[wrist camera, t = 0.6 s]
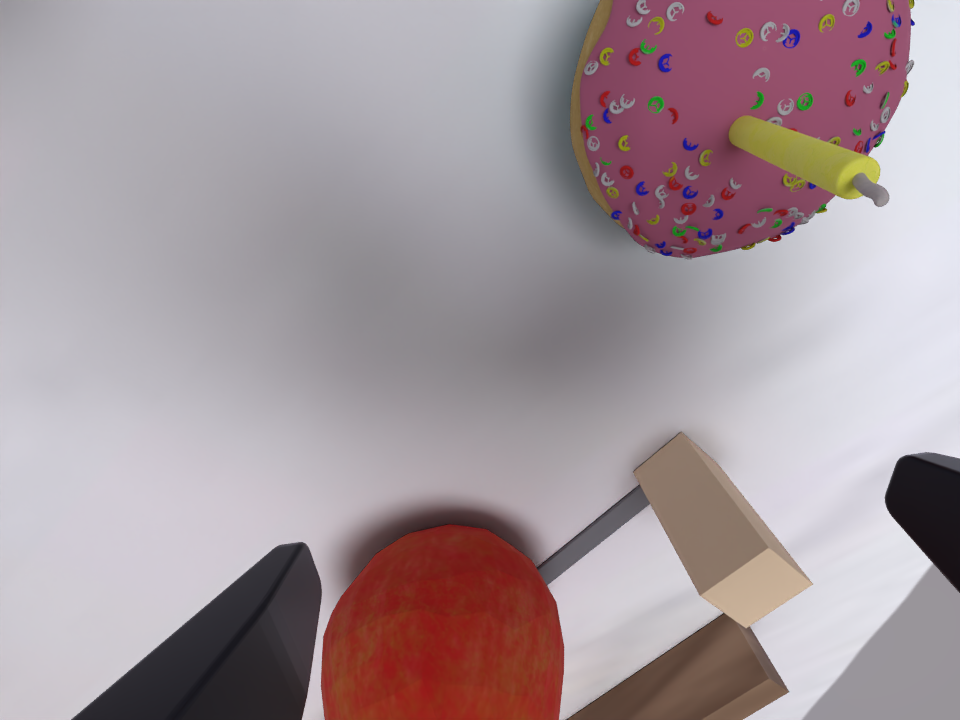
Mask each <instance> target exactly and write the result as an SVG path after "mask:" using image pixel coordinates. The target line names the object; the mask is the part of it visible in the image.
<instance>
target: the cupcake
mask: <svg viewBox="0 0 960 720" xmlns="http://www.w3.org/2000/svg"><path fill="white" fill-rule="evenodd" d="M910 1H911V2H910ZM913 7H914V0H600V2H599V4H598V7H597V9H596V11H595V14H594V16H593V19H592V21H591V24H590V26H589V29H588V32H587V34H586V38H585V41H584V44H583V47H582V51H581V54H580V57H579V61H578V65H577V68H576V72H575V77H574V82H573V88H572V95H571V107H570V130H571V140H572V146H573V150H574V153H575V156H576V159H577V162H578V164H579V167H580V169H581V172H582V175H583V177H584V180H585V183H586V186H587V188H588V190H589V192H590V194H591V196H592V197H593V199H594V200H595V201H596V202H597V203H598V205H599V206H600V207H601V208H602V209H603V210H604V211H605V212H606V213H607V214H608V215H609V216H610V217H611V218H612V219H613V220H614V221H615V222H616V223H617V224H618V225H620V226H621V227H622V228H624V229H625V230H626V231H627V232H628V233H629V234H630V236H631V237H632V238H633V239H634V240H635V241H636V242H637V243H638V244H640V245H641V246H643V247H645V249H646V250H647V251H649V252H651V253H655V252H657V253H660V254H662V255H665V256H673V257H680V258H685V259H692V258H695V257H700V256H706V255H711V254H716V253H721V252H726V251H730V250H735V249H739V248H741V249H743V250H749V249H751V248H753V247H754V246H755V244H756V243H757V244H758V243H761V242H763V241H766V240H769V241H772V242H776V241H779V240H781V236H780V234H781V235H787V234H790V233H792V232H793V231H794V230H795V228H794V227H795V226H797V225H800V224H806V223H808V222H809V219H811V218H812V217H813V216H814V214H815V213H823V212H826V211H827V209H826V208H825V207H826V204H827V203H828V202H829V201H830V200H831V199H832V198H833V197H834V196H835V195H837V196H839V197H841V198H844V199H855V198H859V197H861V196H863V195H864V196H866V197H868V198H871V199H872V200H873V201H874V204H875V205H876V206H878V207H881V206H884V205H886V204H887V203H888V201H889V194H888V192H887V190H886V189H885V188H884V187H882V186H880V185H878V184H876V183H877V181H878V179H879V176H880V166H879V164H878V162H877V161H876V160H875V159H873V158H871V157H869V156H868V154H869V153H870V152H871V150H872V149H873V147H875V148H876V147H878V146H879V145H880V144H881V142H882V141H883V138H884V133H885V131H884V130H885V128H886V127H887V125H888V123H889V122H890V120H891V118H892V116H893V114H894V113H895V111H896V109H897V107H898V104H899V102H900V100H901V97H903V96H904V95H905V94H906V92H907V90H908V86H909V83H908V81H907V80H906V77H907V74H908V73H909V72H910V71H911V69H912V67H913V65H914V61H913V60H911V61H909V50H910V35H911V25H912V26H913V25H915V23H914V21H913V20H912V19H911V13H910V9H912V8H913ZM908 61H909V62H908ZM909 65H910V67H909ZM908 68H909V69H908ZM880 137H881V138H880ZM878 141H879V142H878ZM877 142H878V143H877ZM876 143H877V144H876ZM803 221H804V222H803ZM790 229H791V230H790ZM787 231H789V232H787ZM774 238H777V239H774ZM747 246H750V247H747Z"/></svg>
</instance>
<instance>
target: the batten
mask: <svg viewBox="0 0 960 720" xmlns="http://www.w3.org/2000/svg"><path fill="white" fill-rule="evenodd" d="M788 692H789V691H788V689H787V687H786V686H785V684H784V682H783V681H782V679H781V677H780V676H779V674H778V672H777V671H776V669H775V668H774V666H773V664H772V663H771V661H770V659H769V658H768V656H767V654H766V653H765V651H764V649H763V648H762V646H761V644H760V643H759V641H758V639H757V638H756V636H755V634H754V633H753V631H752V629H751V628H750V626H749V627H747V628H745V627H743V626H742V625H741V624H739V623H738V622H736V621H735V620H734V619H732V618H731V617H729V616H728V615H726V614H725V613H724V614H723V615H721V616H720V617H718V618H717V619H715V620H714V621H713V622H711V623H710V624H708V625H707V626H705V627H704V628H702V629H701V630H699V631H698V632H696V633H695V634H693V635H692V636H690V637H689V638H687V639H686V640H684V641H683V642H681V643H680V644H678V645H677V646H675V647H674V648H673V649H671V650H670V651H668V652H667V653H665V654H664V655H662V656H661V657H659V658H658V659H656V660H655V661H653V662H652V663H650V664H649V665H647V666H646V667H644V668H643V669H641V670H640V671H638V672H637V673H636V674H634V675H633V676H631V677H630V678H628V679H627V680H625V681H624V682H622V683H621V684H619V685H618V686H616V687H615V688H613V689H612V690H610V691H609V692H607V693H606V694H604V695H603V696H601V697H600V698H599V699H597V700H596V701H594V702H593V703H591V704H590V705H588V706H587V707H585V708H584V709H582V710H581V711H579V712H578V713H576V714H575V715H573V716H572V717H570V718H569V719H567V720H743V719H745V718H746V717H748V716H750V715H751V714H753V713H755V712H756V711H758V710H760V709H761V708H763V707H765V706H766V705H768V704H770V703H771V702H773V701H775V700H777V699H778V698H780V697H782V696H783V695H785V694H787V693H788Z"/></svg>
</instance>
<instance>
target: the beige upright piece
mask: <svg viewBox="0 0 960 720" xmlns="http://www.w3.org/2000/svg"><path fill="white" fill-rule="evenodd" d="M633 473H634V475H635V477H636V478H637V480H638V482H639V484H640V485H639V486H638V487H637V488H635V489H634V490H633V491H632V492H631V493H629V494H628V495H627V496H626V497H624V498H623V499H622V500H621V501H619V502H618V503H617V504H616V505H615V506H613V507H612V508H611V509H610V510H608V511H607V512H606V513H605V514H603V515H602V516H601V517H600V518H599V519H597V520H596V521H595V522H594V523H592V524H591V525H590V526H589V527H587V528H586V529H585V530H584V531H583V532H581V533H580V534H579V535H578V536H576V537H575V538H574V539H573V540H571V541H570V542H569V543H568V544H567V545H565V546H564V547H563V548H562V549H560V550H559V551H558V552H557V553H555V554H554V555H553V556H552V557H551V558H549V559H548V560H547V561H546V562H544V563H543V564H542V565H541V566H539V567H538V568H537V570H538V571H539V573H540V575H541V576H542V578H543V580H544V581H545V583H546V585H548V584H549V583H551V582H552V581H553V580H554V579H556V578H557V577H558V576H559V575H561V574H562V573H563V572H564V571H566V570H567V569H568V568H570V567H571V566H572V565H573V564H575V563H576V562H577V561H578V560H580V559H581V558H582V557H583V556H585V555H586V554H587V553H588V552H590V551H591V550H592V549H594V548H595V547H596V546H597V545H599V544H600V543H601V542H602V541H604V540H605V539H606V538H607V537H609V536H610V535H611V534H612V533H614V532H615V531H616V530H617V529H619V528H620V527H621V526H623V525H624V524H625V523H626V522H628V521H629V520H630V519H631V518H633V517H634V516H635V515H636V514H638V513H639V512H640V511H641V510H643V509H644V508H645V507H647V506H648V505H649V504H651V506H652V508H653V510H654V512H655V514H656V515H657V517H658V519H659V521H660V523H661V525H662V526H663V528H664V530H665V532H666V534H667V536H668V538H669V539H670V541H671V543H672V545H673V547H674V549H675V551H676V552H677V554H678V556H679V558H680V560H681V562H682V563H683V565H684V567H685V569H686V571H687V573H688V575H689V576H690V578H691V580H692V582H693V584H694V586H695V588H696V589H697V591H698V593H699V595H700V596H701V597H702V598H704V599H705V600H707V601H708V602H709V603H711V604H712V605H714V606H715V607H717V608H718V609H719V610H721V611H722V612H724V613H725V614H726V615H728V616H729V617H731V618H732V619H734V620H735V621H736V622H738V623H739V624H741V625H742V626H743V627H745V628H747V627H749V626H750V625H752V624H753V623H755V622H756V621H758V620H759V619H761V618H762V617H764V616H766V615H767V614H769V613H770V612H772V611H773V610H775V609H776V608H778V607H779V606H781V605H782V604H784V603H785V602H787V601H788V600H790V599H791V598H793V597H794V596H796V595H798V594H799V593H801V592H802V591H804V590H805V589H807V588H808V587H810V586H811V585H813V584H812V582H811V581H810V580H809V578H808V577H807V576H806V575H805V573H804V572H803V571H802V570H801V568H800V567H799V566H798V565H797V563H796V562H795V561H794V560H793V558H792V557H791V556H790V554H789V553H788V552H787V551H786V549H785V548H784V547H783V546H782V544H781V543H780V542H779V541H778V539H777V538H776V537H775V535H774V534H773V533H772V532H771V530H770V529H769V528H768V527H767V525H766V524H765V523H764V522H763V520H762V519H761V518H760V517H759V515H758V514H757V513H756V511H755V510H754V509H753V508H752V506H751V505H750V504H749V503H748V501H747V500H746V499H745V498H744V496H743V495H742V494H741V492H740V491H739V490H738V489H737V487H736V486H735V485H734V484H733V482H732V481H731V480H730V479H729V477H728V476H727V475H726V474H725V472H724V471H723V470H722V468H721V467H720V466H719V465H718V464H717V463H716V462H715V461H714V460H713V459H712V458H710V457H709V456H708V455H707V454H706V453H705V452H704V451H702V450H701V449H700V448H699V447H698V446H697V445H696V444H695V443H693V442H692V441H691V440H690V439H689V438H688V437H687V436H685V435H684V434H683V433H682V432H681V433H680V434H678V435H677V436H676V437H675V438H674V439H672V440H671V441H670V442H669V443H667V444H666V445H665V446H664V447H663V448H661V449H660V450H659V451H658V452H657V453H655V454H654V455H653V456H652V457H651V458H649V459H648V460H647V461H646V462H644V463H643V464H642V465H641V466H640V467H638V468H637V469H636V470H635V471H634V472H633Z"/></svg>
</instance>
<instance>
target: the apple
mask: <svg viewBox="0 0 960 720" xmlns="http://www.w3.org/2000/svg"><path fill="white" fill-rule="evenodd" d="M563 674H564V643H563V638H562V632H561V626H560V621H559V615H558V609H557V604H556V601H555V599H554V598H553V596H552V594H551V592H550V590H549V589H548V587H547V585H546V583H545V581H544V580H543V578H542V576H541V575H540V573H539V571H538V570H537V568H536V567H535V565H534V563H533V562H532V560H531V559H529V558H528V557H527V556H525V555H524V554H523V553H521V552H520V551H519V550H517V549H516V548H515V547H513V546H512V545H511V544H509V543H507V542H506V541H504V540H503V539H501V538H500V537H498V536H497V535H495V534H494V533H492V532H490V531H489V530H487V529H482V528H475V527H467V526H459V525H452V524H448V525H443V526H439V527H435V528H430V529H426V530H421V531H417V532H413V533H408V534H407V535H405V536H403V537H402V538H400V539H398V540H397V541H395V542H394V543H392V544H390V545H389V546H387V547H386V548H384V549H383V550H381V551H380V552H378V553H377V554H376V555H375V556H374V557H373V558H372V559H371V561H370V562H369V563H368V564H367V566H366V567H365V568H364V569H363V570H362V572H361V573H360V574H359V575H358V577H357V578H356V579H355V580H354V581H353V583H352V584H351V585H350V586H349V588H348V589H347V590H346V591H345V592H344V594H343V595H342V596H341V598H340V599H339V601H338V603H337V605H336V607H335V608H334V610H333V612H332V614H331V617H330V619H329V622H328V625H327V628H326V630H325V633H324V636H323V652H322V673H321V690H322V699H323V708H324V717H325V720H559V713H560V703H561V694H562V684H563Z"/></svg>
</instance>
